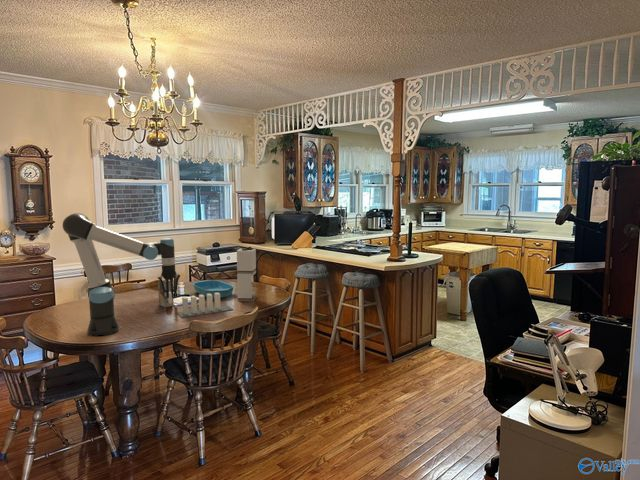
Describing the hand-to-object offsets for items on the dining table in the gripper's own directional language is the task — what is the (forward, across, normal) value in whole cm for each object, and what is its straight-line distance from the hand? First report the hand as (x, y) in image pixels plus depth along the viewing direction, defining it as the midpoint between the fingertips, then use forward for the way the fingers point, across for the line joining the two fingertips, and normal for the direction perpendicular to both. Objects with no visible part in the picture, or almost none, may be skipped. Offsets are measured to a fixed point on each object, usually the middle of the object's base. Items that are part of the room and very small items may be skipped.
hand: (170, 302), depth 255 cm
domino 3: (+8, +19, 0) cm, 21 cm away
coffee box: (+9, +3, +28) cm, 29 cm away
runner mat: (+9, +21, 0) cm, 23 cm away
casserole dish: (+9, +39, +42) cm, 58 cm away
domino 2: (+8, +14, 0) cm, 16 cm away
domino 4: (+8, +24, 0) cm, 25 cm away
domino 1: (+8, +9, 0) cm, 12 cm away
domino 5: (+8, +29, 0) cm, 30 cm away
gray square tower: (+9, +55, +15) cm, 58 cm away
